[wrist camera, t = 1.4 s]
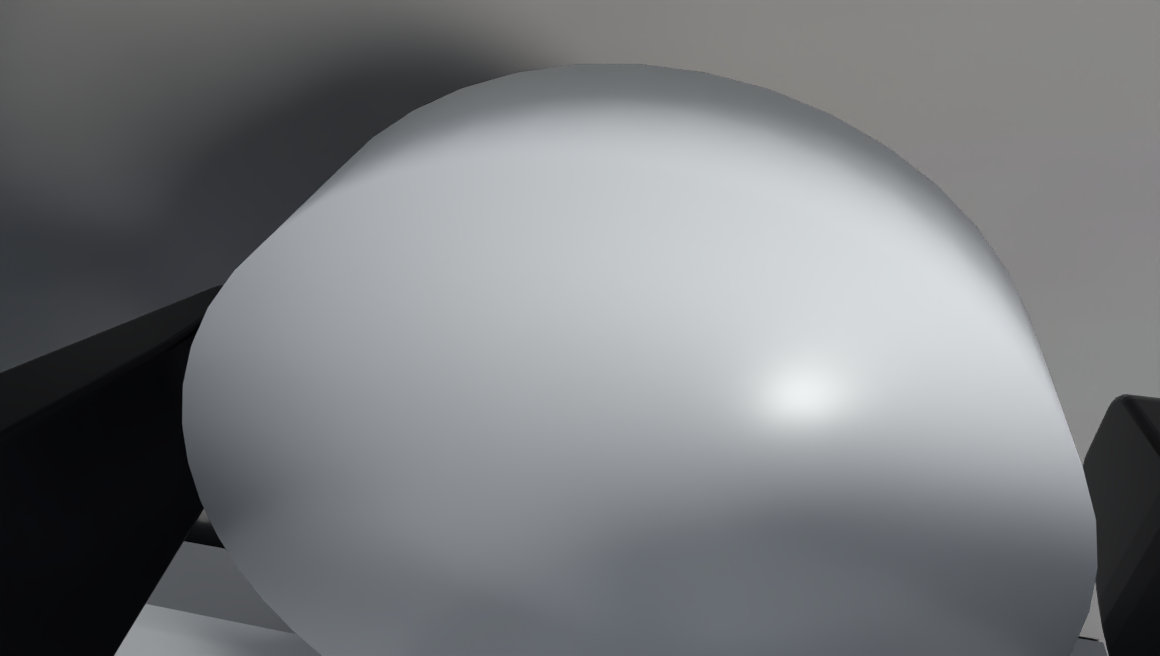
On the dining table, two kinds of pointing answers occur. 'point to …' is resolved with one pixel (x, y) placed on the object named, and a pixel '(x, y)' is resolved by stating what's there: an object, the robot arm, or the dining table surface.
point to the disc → (637, 392)
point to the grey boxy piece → (209, 613)
